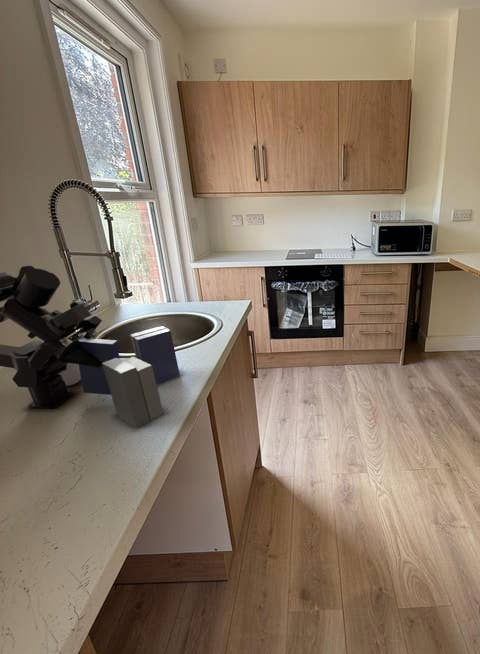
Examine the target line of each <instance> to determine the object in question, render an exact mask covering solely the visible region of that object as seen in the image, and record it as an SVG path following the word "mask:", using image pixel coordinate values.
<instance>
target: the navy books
mask: <svg viewBox="0 0 480 654" xmlns="http://www.w3.org/2000/svg"><path fill="white" fill-rule="evenodd" d="M129 336H130V340H131V344H132V348H133V352H134V357H135V358H137V359H139V360H142V361H144V362H146V363H148V364H150V365H152V368H153V372H154V376H155V380H156V384H157V385H159V384H162V383H165V382H167V381H170V380H173V379H175V378H178V377H180V376H181V373H180V368H179V363H178V359H177V355H176V350H175V345H174V340H173V335H172V331H171V329H169V328H167V327H165V326H163V325H160V326H157V327H154V328H149V329H146V330H142V331H139V332H134V333H131V334H129Z"/></svg>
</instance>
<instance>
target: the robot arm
mask: <svg viewBox="0 0 480 654" xmlns="http://www.w3.org/2000/svg"><path fill="white" fill-rule="evenodd" d="M60 286H61V280H60V279H59V277H58V276H57V275H56V274H55V273H54V272H50V271H48V270H45V269H42V268H36V267H35V266H34V265H32V264H27V265H24V266H21V267H20V268H19V270H18V274H17V276H12V275H11V274H10V273H8V272H7V271H1V272H0V303H3V302H4V303H3V305H2V306H1V307H0V323H3V322H4V323H5V321H8V320H10V321H11V322H13V323H14V324H16V325H18V326H19V327H21V328H23V329H24V330H25V331H27V332H28V334H27V337H28V338H29V339H31V340H32V341H30V342H28V343H26V344H23V345H20V346H16V345H15V346H14V345H8V344H1V343H0V367H2V368H9V369H14V370H15V371H16V372H15V374H14V375H13V377H12V381H13V382H14V383H15V385H16V386H17V387H18V388H27V389H28V391H29V394H30V396H31V399H32V402H31V403H30V404H28V405H27V407H28V409H55V408H57V407H58V406H59V405H61V404H62V403H63V402H65V401H66V400H68V399H69V398H71V397H72V396H74V394H75V392H74V391H69V390H68V386H66V384H65V381H63V379H62V376H61V375H59V373H61V372H63V371H65V370H67V363H73V364H81V365H86V366H92V367H98V368H99V367H100V366H101V365H102V363H101V362H100V361H98V360H97V359H96V358H95V357H93V356H92V355H91V354H89V353H88V352H87V351H85V350H84V349H82V348H81V346H80V343H79V341H78V339H79V338H92V339H95V337H94V332H95V331H96V329H97V328H99V326H100V324H101V323H102V322H103V321H102V319H101V318H99V317H98V316H97V315H94V314H93V315H92V313H91V312H90V311H91V305H90V304H89V303H86V302H85V301H83V300H81V299H77V300H75V301H73V302H71V303H70V304H69V307H70V308H69V309H67V310H65V311H64V312H62V311H60V310H57V309H54V310H53V311H51V310H49V309H47V307H46V306H47V305H48V304H49V303H50V302H51V300H52V298H53V297H54V295H55V294H56V292H57V290H58V289H59V287H60ZM36 337H37V338H38V339H39V340H38V339H34V338H36ZM33 339H34V340H33Z"/></svg>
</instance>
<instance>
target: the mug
mask: <svg viewBox="0 0 480 654" xmlns="http://www.w3.org/2000/svg"><path fill="white" fill-rule="evenodd" d="M59 375H61V376H62V379H63V381H65V384H66V387H69V386H73V385H75V384H77V383H78V382H80V381H81V376H80V370H79V364H73V363H67V370H65V371H63V372H61V373H59Z"/></svg>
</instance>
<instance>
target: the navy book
mask: <svg viewBox="0 0 480 654" xmlns="http://www.w3.org/2000/svg"><path fill="white" fill-rule="evenodd" d="M78 341H79V343H80V346H81V348H82V349H84V350H85V351H87V352H88V353H89V354H91V355H92V356H93V357H95V358H96V359H97V360H98V361H100V362H101V363H103V362H106V361H109V360H112V359H114V358H118V359H120V353H119V352H120V351H119V343H118V340H115V339H102V338H94V339H92V338H79V339H78ZM79 370H80V376H81V379H80V381H81V387H82V388H81V389H82V393H83V394H95V395H109V396H112V395H111V392H110V389H109V385H108V382H107V379H106V376H105V372H104V369H103V366H102V365H101V366H100V367H99V368H98V367H92V366H86V365H81V364H79Z"/></svg>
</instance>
